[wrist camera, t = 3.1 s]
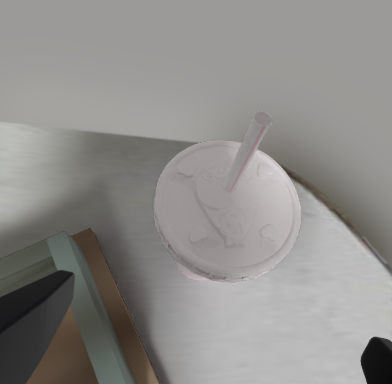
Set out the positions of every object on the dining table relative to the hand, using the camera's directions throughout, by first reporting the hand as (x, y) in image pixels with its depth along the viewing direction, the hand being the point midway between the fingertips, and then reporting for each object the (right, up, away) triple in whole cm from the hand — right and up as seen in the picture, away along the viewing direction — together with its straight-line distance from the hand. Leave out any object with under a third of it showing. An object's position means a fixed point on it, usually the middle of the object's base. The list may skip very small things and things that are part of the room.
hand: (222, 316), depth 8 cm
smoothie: (-1, -1, +12) cm, 12 cm away
